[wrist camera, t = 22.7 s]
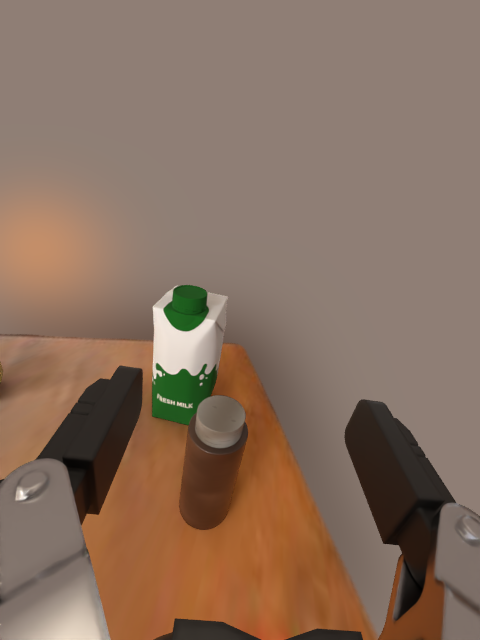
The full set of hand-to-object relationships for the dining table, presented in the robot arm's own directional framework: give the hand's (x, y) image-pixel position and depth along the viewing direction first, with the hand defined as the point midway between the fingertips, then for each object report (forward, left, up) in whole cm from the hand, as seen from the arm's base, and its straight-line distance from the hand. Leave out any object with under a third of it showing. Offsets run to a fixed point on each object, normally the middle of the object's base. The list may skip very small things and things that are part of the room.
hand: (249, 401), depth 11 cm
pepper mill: (-3, +11, -26) cm, 28 cm away
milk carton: (-11, +23, -26) cm, 37 cm away
